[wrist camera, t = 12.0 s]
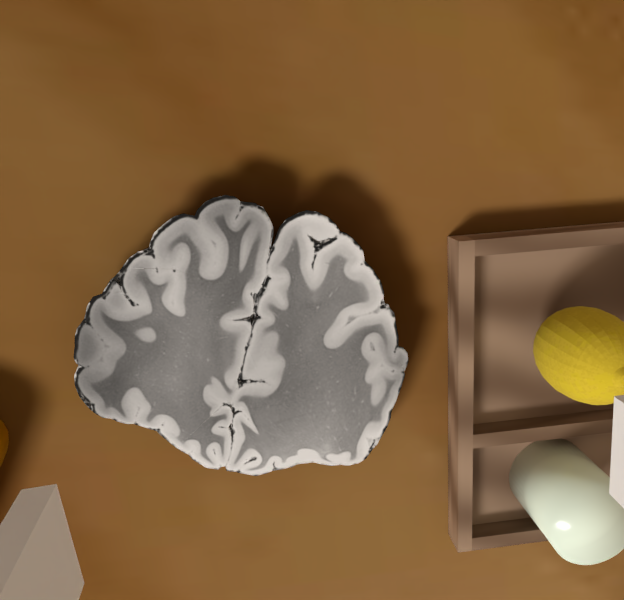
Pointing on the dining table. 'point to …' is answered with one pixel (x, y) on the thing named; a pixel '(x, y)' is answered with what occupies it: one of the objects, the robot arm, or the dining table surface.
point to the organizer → (517, 365)
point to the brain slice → (245, 341)
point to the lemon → (582, 354)
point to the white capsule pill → (568, 501)
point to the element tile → (3, 441)
